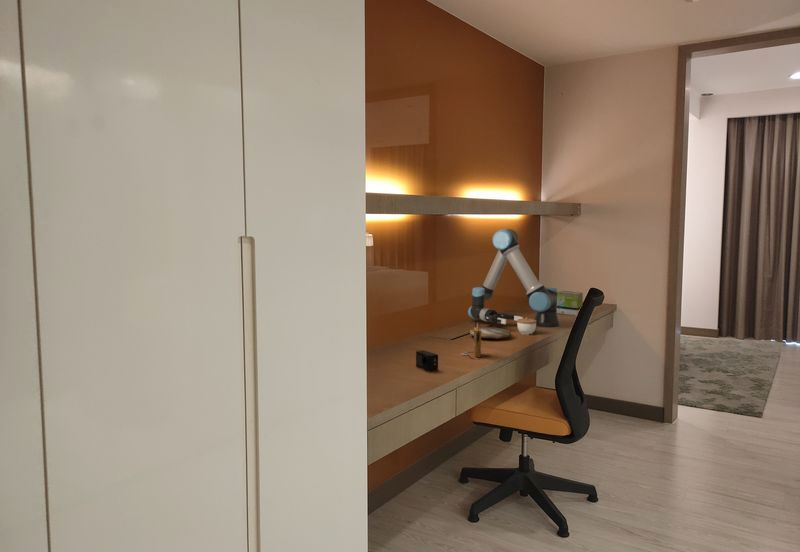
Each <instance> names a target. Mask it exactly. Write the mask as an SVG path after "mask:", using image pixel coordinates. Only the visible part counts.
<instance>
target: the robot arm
mask: <svg viewBox="0 0 800 552" xmlns="http://www.w3.org/2000/svg"><path fill="white" fill-rule="evenodd" d="M492 244H493V247H494V248H495V249H497V250H498V251H497V253H496V255H495V258H494V259H493V262H492V264H491V266H490V269H489V271H488V273H487V275H486V277H485V279H484V281H483V284H482V286H481V287H479V286H477V287H476V286H475V287H473V288H472V290H471V291H472V292H471V306H470V307H469V308H468V310H467V314H468V316H469V317H470V318H472V319H474V320H476V318H477V319H478V316H479V315H480V316H479V321H484V322H485V323H486V322H488V323H494V324H495V325H496V324H502V325H506V324H507V320H512V321H516V322H517V320H518V319H524V317H523V316H519V315H517V314H516V313H515V314H510V313H509V314H508V313H499V312H497V311H496V310H495V309H491V308H487V307H486V308H485V301H489V300H491V299H492V298H493V297H494V292H495V289H496V286H497V284H498V282H499V279H500V278H501V275H502V273H503V271H504V269H505V266H506V264H507V262H509V264H510V266H511V267H512V269H513V270H514V272H515V274H516V275H517V277H518V279H519V281H520V282H521V285H522V286H523V287H524V289H525V290H526V294H525V295H526V298H527V299H528V303H529V307H530V309H532V310H533V311H536V312H535V313H536V314H535V317H534V320H536V321H537V322H536V327H537V326H538V327H542V328H543V327H544V328H556V327H560V321H559V316H558V313H557V294H558V293H557V292H558V288H556V287H547V286H545V285H544V284H543V283H540V282H539V280H538V278H537V277H536V275H535V274H534V272H533V270H532V269H531V266H530V265H529V264H528V262H527V261H526V258H525V257H524V256H523V253H522V252H521V250H520V244H519V235H518V233H517V232H516V231H515V230H514V229H511V228H505V229H504V228H501V229H500V230H497V231H496V232H495V233H494V234H493V236H492ZM477 314H478V316H477Z"/></svg>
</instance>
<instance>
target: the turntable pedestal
mask: <svg viewBox="0 0 800 552" xmlns="http://www.w3.org/2000/svg"><path fill="white" fill-rule="evenodd" d="M481 339H485V340H498V339H499V338H482V337H481Z"/></svg>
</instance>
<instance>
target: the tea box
mask: <svg viewBox="0 0 800 552" xmlns="http://www.w3.org/2000/svg"><path fill="white" fill-rule="evenodd" d="M557 293H558V294H557V314H564V315H571V316H576V315H577V313H578V311H579V309H580V307H581V305H582V306H583V302H584V301H583V299H584V293H583V292H579V291H569V290H561V291H557ZM577 316H578V315H577Z"/></svg>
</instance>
